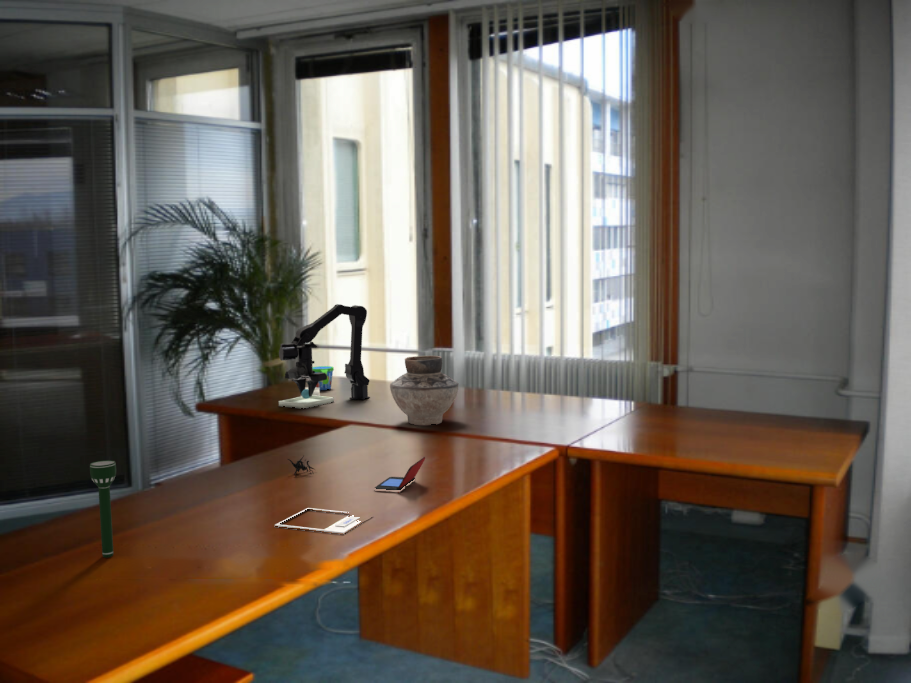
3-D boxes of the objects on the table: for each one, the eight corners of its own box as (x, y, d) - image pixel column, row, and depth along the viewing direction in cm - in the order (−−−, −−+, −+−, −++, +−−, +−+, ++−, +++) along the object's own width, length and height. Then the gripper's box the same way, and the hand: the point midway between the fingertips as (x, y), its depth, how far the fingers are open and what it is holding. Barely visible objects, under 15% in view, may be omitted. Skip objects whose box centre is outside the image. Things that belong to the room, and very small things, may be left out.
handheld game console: (390, 480, 251) (389, 454, 250) (427, 482, 248) (426, 456, 247) (372, 492, 239) (371, 464, 238) (411, 495, 236) (410, 466, 235)
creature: (322, 477, 259) (304, 467, 264) (324, 459, 258) (306, 450, 263) (301, 483, 253) (283, 472, 258) (303, 465, 252) (285, 455, 257)
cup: (323, 397, 394) (323, 387, 393) (310, 399, 387) (310, 390, 386) (309, 395, 398) (309, 386, 398) (297, 398, 391) (296, 388, 391)
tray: (334, 402, 380) (333, 397, 379) (304, 408, 365) (303, 403, 365) (309, 399, 387) (309, 394, 387) (278, 406, 373) (278, 401, 372)
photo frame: (343, 531, 203) (274, 524, 210) (343, 536, 203) (274, 528, 210) (373, 513, 216) (307, 507, 223) (373, 518, 216) (307, 511, 223)
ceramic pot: (381, 427, 324) (380, 361, 321) (402, 415, 348) (400, 353, 345) (449, 430, 318) (448, 362, 316) (465, 416, 342) (465, 353, 340)
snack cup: (309, 387, 421) (309, 365, 420) (332, 386, 424) (331, 364, 423) (312, 392, 406) (311, 370, 405) (335, 391, 409) (335, 369, 408)
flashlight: (124, 551, 194) (119, 459, 192) (116, 560, 189) (110, 465, 187) (100, 552, 194) (94, 460, 191) (91, 560, 188) (85, 466, 186)
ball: (313, 398, 376) (313, 388, 376) (306, 399, 373) (306, 390, 373) (306, 397, 379) (305, 388, 378) (299, 398, 375) (299, 389, 375)
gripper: (274, 359, 373) (276, 397, 374) (308, 362, 362) (309, 401, 364) (293, 356, 382) (295, 393, 384) (327, 359, 372) (328, 397, 373)
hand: (306, 396), depth 376 cm, fingers closed on ball, 4 cm apart
